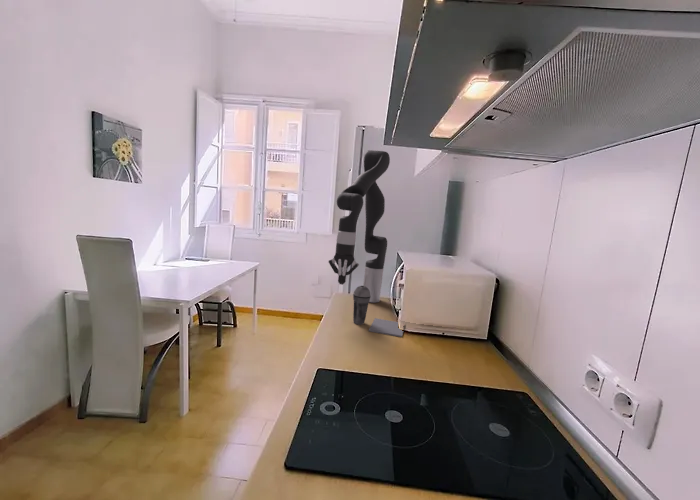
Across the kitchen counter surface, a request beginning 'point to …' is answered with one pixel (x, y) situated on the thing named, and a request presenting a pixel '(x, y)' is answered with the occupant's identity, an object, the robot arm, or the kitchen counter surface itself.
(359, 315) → the beverage cup
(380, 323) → the rubber mat
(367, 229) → the robot arm
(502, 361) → the kitchen counter surface
